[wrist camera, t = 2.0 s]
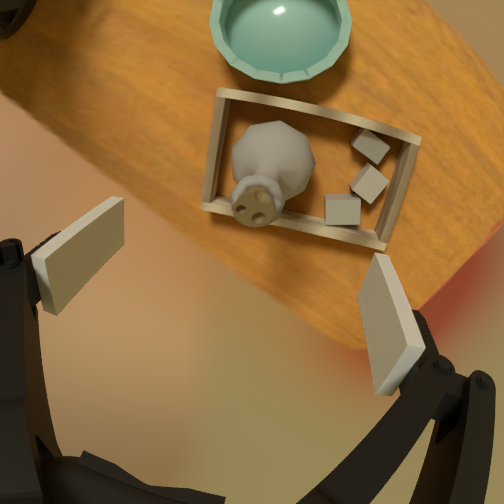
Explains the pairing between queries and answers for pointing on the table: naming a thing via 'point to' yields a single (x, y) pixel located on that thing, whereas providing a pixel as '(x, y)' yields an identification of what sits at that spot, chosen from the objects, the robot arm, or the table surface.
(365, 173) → the pebble
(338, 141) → the table surface
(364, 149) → the pebble
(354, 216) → the grey block
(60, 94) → the table surface
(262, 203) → the potion bottle
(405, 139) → the tray
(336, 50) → the bowl
